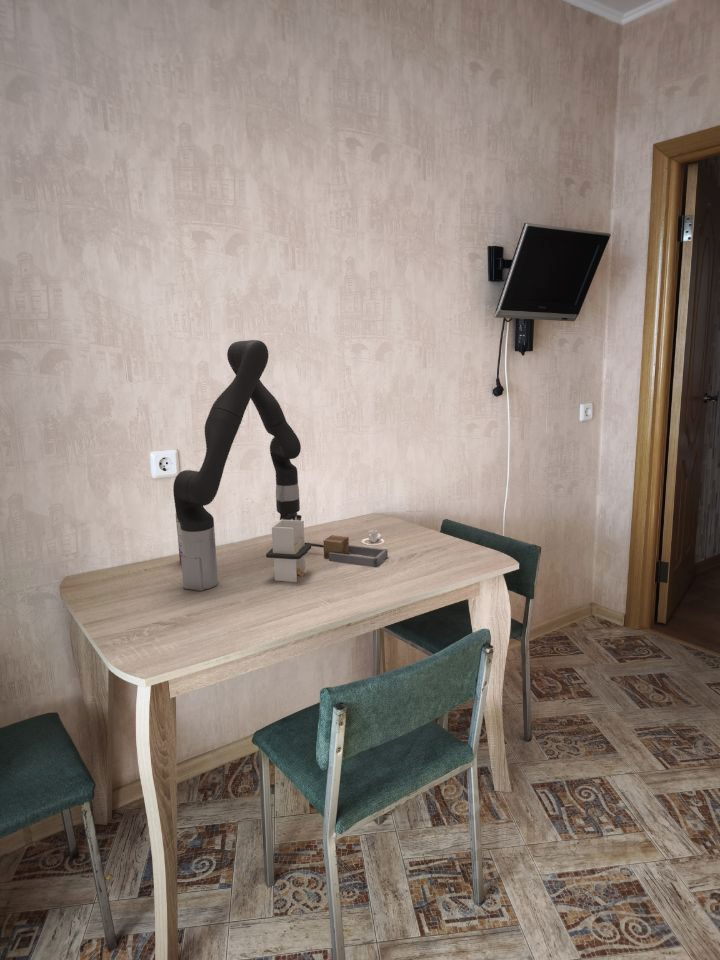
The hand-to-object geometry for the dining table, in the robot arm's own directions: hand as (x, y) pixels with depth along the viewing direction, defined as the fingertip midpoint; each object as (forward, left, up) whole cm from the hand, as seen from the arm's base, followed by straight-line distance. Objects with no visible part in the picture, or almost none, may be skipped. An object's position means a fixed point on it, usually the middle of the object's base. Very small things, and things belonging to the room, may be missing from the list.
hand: (290, 547), depth 217 cm
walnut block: (0, -10, -1) cm, 10 cm away
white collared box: (-20, -11, -1) cm, 23 cm away
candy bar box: (-21, +22, -1) cm, 30 cm away
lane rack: (0, -24, -1) cm, 24 cm away
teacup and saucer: (+19, -25, -2) cm, 32 cm away
